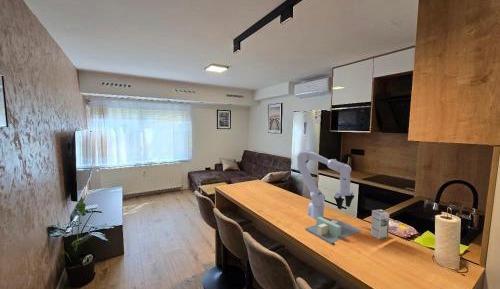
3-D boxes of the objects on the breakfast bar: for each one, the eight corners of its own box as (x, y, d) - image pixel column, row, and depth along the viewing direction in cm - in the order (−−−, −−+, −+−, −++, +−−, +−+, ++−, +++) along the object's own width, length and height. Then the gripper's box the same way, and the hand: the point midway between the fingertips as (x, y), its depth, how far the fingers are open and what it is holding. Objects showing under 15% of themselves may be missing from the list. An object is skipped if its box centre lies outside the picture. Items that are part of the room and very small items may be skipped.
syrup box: (378, 241, 117) (381, 213, 116) (370, 235, 123) (372, 209, 122) (387, 239, 119) (390, 213, 117) (378, 234, 124) (380, 208, 123)
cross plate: (316, 226, 130) (316, 217, 129) (319, 225, 131) (320, 216, 131) (336, 237, 118) (337, 227, 117) (340, 236, 119) (341, 226, 119)
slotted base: (305, 229, 128) (305, 220, 127) (335, 220, 142) (335, 211, 141) (331, 244, 113) (332, 234, 112) (362, 232, 127) (363, 222, 126)
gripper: (342, 188, 126) (341, 212, 127) (358, 185, 134) (357, 207, 135) (332, 185, 132) (331, 208, 133) (347, 182, 140) (346, 204, 141)
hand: (343, 207), depth 135 cm, fingers open, 7 cm apart
